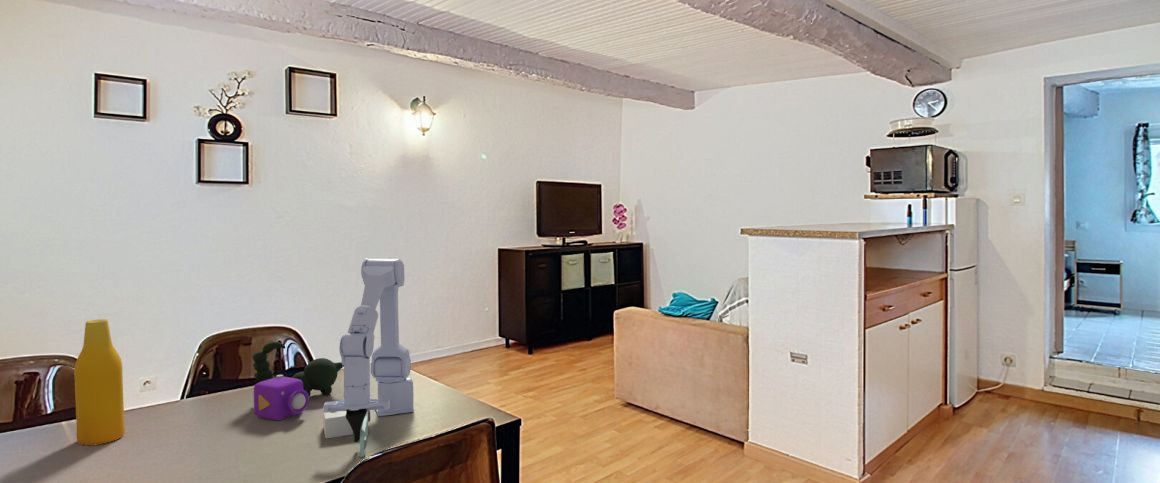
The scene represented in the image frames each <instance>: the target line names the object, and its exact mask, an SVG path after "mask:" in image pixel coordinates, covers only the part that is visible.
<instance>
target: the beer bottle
mask: <svg viewBox="0 0 1160 483" xmlns="http://www.w3.org/2000/svg"><path fill="white" fill-rule="evenodd" d="M84 325H85V326H84V336H83V344H82V349H81V351H80V353H79V354H78V357H77V359H76V361H75V365H74V369H73V370H74V371H73V372H74V374H73V376H74V395H75V397H74V399H75V418H76V419H75V420H76V421H75V422H76V424H75V425H76V442H77V443H78V444H79V443H80V444H79V445H81V444H85V445H84V446H86V445H92V446H96V445H95V444H100V445H103V444H102V443H105V444H108V443H107V442H109V443H112V442H111V441H113V442H115V441H117V439H118V440H120V439H121V438H122V437H123V436H124V434H125V430H126V428H125V426H126V425H125V408H124V406H125V405H124V384H123V383H124V382H123V380H124V379H123V363H122V362H123V361H122V358H121V356H120V354H119V353H118V351H117V350H116V348H115V347H114V345H113V343H112V337H111V331H110V325H109V320H108V319H104V318H101V319H91V320H87V321H85V324H84ZM119 438H120V439H119ZM114 440H115V441H114Z"/></svg>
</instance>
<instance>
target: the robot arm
mask: <svg viewBox="0 0 1160 483" xmlns="http://www.w3.org/2000/svg"><path fill="white" fill-rule="evenodd" d="M360 275H361V279H362V282H363V284H364V289H363V293H362V298H361V304H360V306H357V307H356V308H355V309H354V311H353V314H352V317H351V320H350V324H349V327H348V330H347V332H346V334H344V335H342V336H341V338H340V341H339V350H338V351H339V354H340V355H339V356H340V358H341V362H342V365H343V366H344V367H343V399H342V400H333V401H325V402H324V404H323V409H324V413H328V412H330V411H346V419H347V421H348V422H349V424H350V426H351V428H352V431H353V433H354V434H353V436H354V437H353V442H354V443H360V435H361V433H360V430H361V426H362V423H363V420H364V418H365V415H366V413H367V411H368V410H370V411H375V412H376V413H377V415H378V417H385V416H391V415H393V416H394V415H399V414H400V415H401V414H407V413H412V412H415V410H414V404H415V403H414V381H413V378H412V377H410V374H411V370H412V360H411V355H410V350H409V349H408V348H406V347H405V346H404V345H402V344H401V343H400V338H399V337H400V335H399V333H400V330H399V288H400V287H403V286H404V285H405V264H404V262H403V261H402V259H401V258H391V259H389V258H368V257H367V258H366V257H365V259H363V261H362V263H361V268H360ZM378 303H379V312H378V311H377V310H376V309H377V306H378ZM379 316H380V317H379ZM378 318H380V322H379V324H380V345H379V346H378V347H377V348H376V349H374V346H375V345H374V344H375V343H374V342H375V334H374V332H375V329H376V326H377V322H378ZM370 357H371V358H370ZM371 376H372V377H373V379H375V382H377V398H371V390H370V389H371V379H370V378H371Z"/></svg>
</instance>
